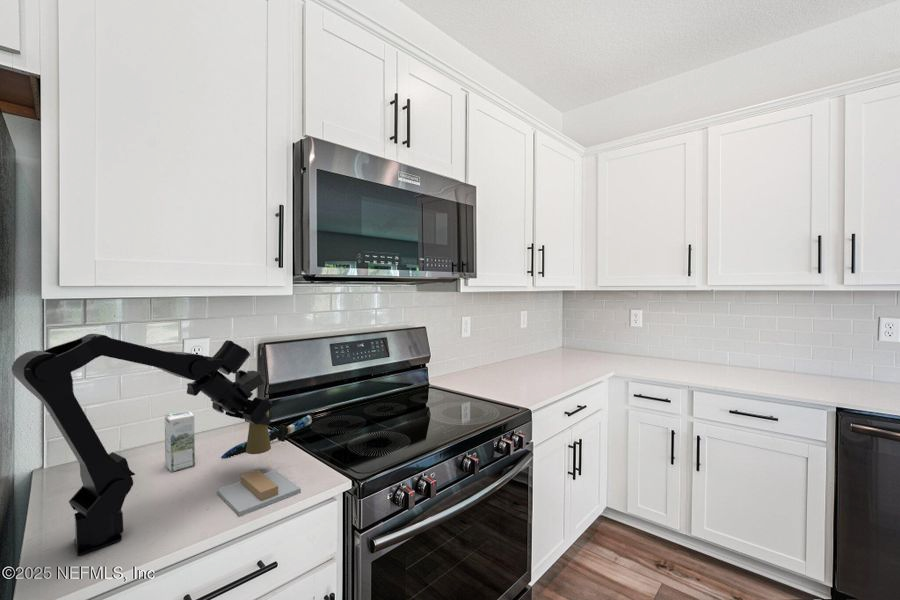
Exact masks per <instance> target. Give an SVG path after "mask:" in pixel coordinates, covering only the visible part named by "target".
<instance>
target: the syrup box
mask: <svg viewBox="0 0 900 600" xmlns="http://www.w3.org/2000/svg"><path fill="white" fill-rule="evenodd" d="M164 441H165V442H164V446H165V447H164V449H165V451H164V452H165V467H166V468H167V469H168V470H169V471H170V473H174V472H177V471H181V470H184V468H185V469H187V468H190V467H191V466H192V467H194V466H195V465H196V457H195V456H196V455H195V454H196V451H195V450H196V448H195V447H196V446H195V415H194V414H193V413H192V412H191V411H190V410H185V411H177V412H174V413H167V414H165V415H164Z"/></svg>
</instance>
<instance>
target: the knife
mask: <svg viewBox="0 0 900 600" xmlns="http://www.w3.org/2000/svg"><path fill="white" fill-rule="evenodd" d="M314 419H315V416H314V414H313V413H309V414H307V416H304V417H302V418H301V419H299V420H296V421H295V422H293V423H291V424H290V425H288V426H286V425H284V424H279V426H278V430H276V429H275V427H273V428H272V429H271V430H268V431H269V438H270V443H271V442H273V441H274V440H278V441H281V442H284V441H285V438H286V437H287V436H288V435H290V434H292V433H294V432H296V431H298V430H300V429H303V428H304V427H306V426H309V425H311V424H312V422H313V420H314ZM246 447H247V441H244V442H241V443H239V444H236V445H235V446H233V447H232V448H230V449H228V450H227V451H226V452H224V454H222V456H220V459H221V460H222V459H224V460H225V459H229V458H231V456H233V457H235V456H234V455H236V456H238V454H239V455H241V453H242V454H244V453H246ZM228 457H229V458H228Z"/></svg>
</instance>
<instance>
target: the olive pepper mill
mask: <svg viewBox="0 0 900 600" xmlns="http://www.w3.org/2000/svg"><path fill="white" fill-rule="evenodd" d="M266 415H267V416H268V418H269V417H270V411H269V410H268V411H267V413H266ZM268 426H269V425H262V424H256V425H255V424H252V423H249V425H248V433H247V439H246V442H247V447H246V452H245V453H246V454H249V455H260V454H263V453H266V452H268V451H270V450H272V446H271V445H272V444H271V442H270V438H269V431H270V430H269V427H268Z"/></svg>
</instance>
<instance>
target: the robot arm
mask: <svg viewBox="0 0 900 600" xmlns="http://www.w3.org/2000/svg"><path fill="white" fill-rule="evenodd" d="M250 356H251V353H250V351H248V349H247V348H245V347H242V346H241V345H239V344H237V343H235V342H233V341H232V340H229V339H226V340H225V341H224V342H223V343H222V345H221V346H220V348H219V349H218V350H217V352H216V353H215V354H214V355H212V356H208V355H204V354H203V355H202V354H198V353H197V354H196V353H190V352H187V351H186V352H185V351H184V352H182V351H171V350H170V351H167V350H166V351H165V350H162V349H161V350H160V349H158V348H157V349H156V348H152V347H149V346H146V345H144V346H143V345H142V344H136V343H133V342H128V341H124V340H121V339H116V338H113V337H109V336H108V335H105V334H99V333H89V334H85V335H83V336H82V337H80V338H77V339H73V340H71V341H68V342H67V341H66V342H64V343H62V344H57V345H55V346H52V347H49V348H47V349H44V350H32V351H28V352H25V353H23V354H21V355H19V356H18V357H17V358H16V359H15V361H14V362H13V364H12V365H11V372H12V375H13V376H14V377H15V378H16V379H17V381H19V382H20V384H21V385H22V386H24V387H25V388H26V390H27V391H28V392H30V393H31V395H32V394H33V395H34V397H36V399H38V400H39V401H40V402H41V403H42V404H43V405H44V408H45V410H46V411H47V413H48V414H49V415H50V417H51V418H52V420H53V422H54V424H55V425H56V427H57V429H58V430H59V432H60V433H61V435H62V437H63V438H64V439H65V442H66V443H67V445H68V447H69V448H70V450H71V452H72V453H73V455H74V456H75V458H76V460H77V461H78V463H79V473H80V479H81V483H82V486H81V487H80V488H79V489H78V491H76V492H75V493H74V495H73V496H72V497H71V498H70V500H68V504H69V505H70V507H71V508H72V510H74V511H76V512H75V513H74V531H75V532H74V534H75V535H74V536H75V538H74V539H73V543H74V544H73V545H74V547H75V552H76V555H77V556H82V555H85V554H88V553H90V552H93V551H95V550H99V549H102V548H105V547H107V546H109V545H112V544H114V543H118V542H120V541H122V539H123V537H122V534H123V533H124V514H123V511H122V508H123V505H124V502H125V501H126V500H125V499H126V497H127V496H128V494H129V492H131V489H132V487H133V486H134V479H133V477H132V476H135V475H136V473H135V472H133V471H132V470H131V469H130V466H129V463H128V461H127V458H126V457H124V456H121V455H119V454H118V453H115V452H113V451H112V452H110V453H109V454H108V452H107V450H106V448H105V446H104V445H103V443H102V441H101V439H100V438H99V436H98V434H97V433H96V431H95V428H94V427H93V425H92V423H91V421H90V420H89V418H88V417H87V415H86V413H85V412H84V409H83V408H82V406H81V404H80V403H79V401H78V399H77V398H76V396H75V393H74V380H73V376H72V372H74V371H77V370H78V369H80V368H83V367H84V366H86V365H88V364H89V363H90V362H92V361H94V360H96V359H97V358H99V357H108V358H112V359H116V360H122V361H127V362H131V363H134V364H135V363H136V364H140V365H144V366H150V367H154V368H156V369H159V370H161V371H163V372H166V373H167V374H170V375H173V376H175V377H178V378H182V379H187V380H191V381H192V382H188V383H186V386H187V388H186V394H187V395H190V396H194V397H196V396H197V395H198V394H199V393H202V394H204V395H205V396H206V397H208V398H209V399H210V401H211V402H212V409H213V410H215V411H216V412H218V413H221V414H225V416H228V417H233V418H237V419H241V420H244V422H247V423H249V424H250V423H252V424H255V425H256V424H262V425H268V426H269V425H270V424H271V419H270V418H269V417H268V416H267V415H266V413H267V411H269V410H270V409H271V407H272V406H273V402H272V401H271V400H270V399H269V398H267V397H264V396H255V397H254V398H253V399H251V397H252V396H253V395H254V393H252V392H253V391H255V390H256V389H257V388H259V387H260V386H263V385H264V384H265V383H266V382H265V380H264V378H263V376H262V374H261V372H260V371H256V370H247V371H245V370H243V369H242V370H241V369H240V368H242V366H243V365H244V363H246V361H247V360H248V359H249V357H250ZM230 374H233V375H234V374H235V375H234V376H235V378H234V380H235V381H234V382H233V381H232V380H230V378H228V377H227V376H229V375H230ZM226 375H227V376H226Z"/></svg>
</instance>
